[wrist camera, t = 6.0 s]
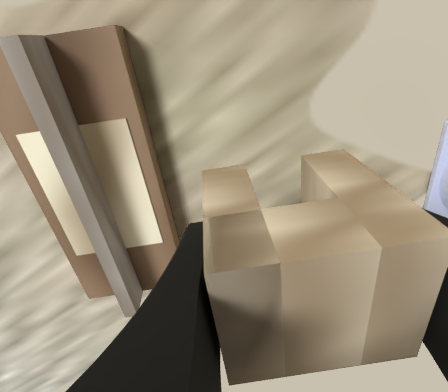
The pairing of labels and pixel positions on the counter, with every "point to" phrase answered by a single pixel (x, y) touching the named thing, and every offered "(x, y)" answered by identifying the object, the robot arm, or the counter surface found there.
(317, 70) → the counter surface
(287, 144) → the counter surface
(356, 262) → the clip
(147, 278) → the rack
